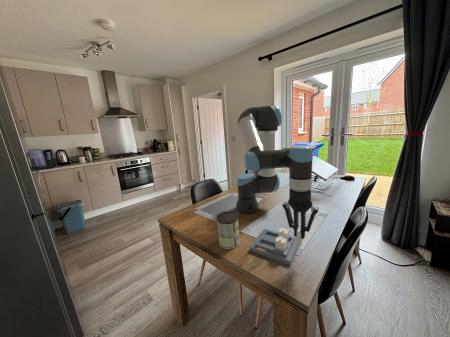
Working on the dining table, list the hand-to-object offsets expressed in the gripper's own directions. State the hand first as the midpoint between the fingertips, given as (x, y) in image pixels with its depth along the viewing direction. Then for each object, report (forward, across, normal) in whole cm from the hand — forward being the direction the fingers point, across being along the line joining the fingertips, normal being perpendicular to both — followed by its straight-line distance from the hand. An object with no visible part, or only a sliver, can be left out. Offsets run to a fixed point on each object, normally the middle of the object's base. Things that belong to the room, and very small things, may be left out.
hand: (299, 244), depth 72 cm
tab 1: (+6, -9, +7) cm, 13 cm away
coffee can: (+8, -32, -4) cm, 33 cm away
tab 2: (+6, -8, 0) cm, 9 cm away
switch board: (+8, -11, +4) cm, 14 cm away
